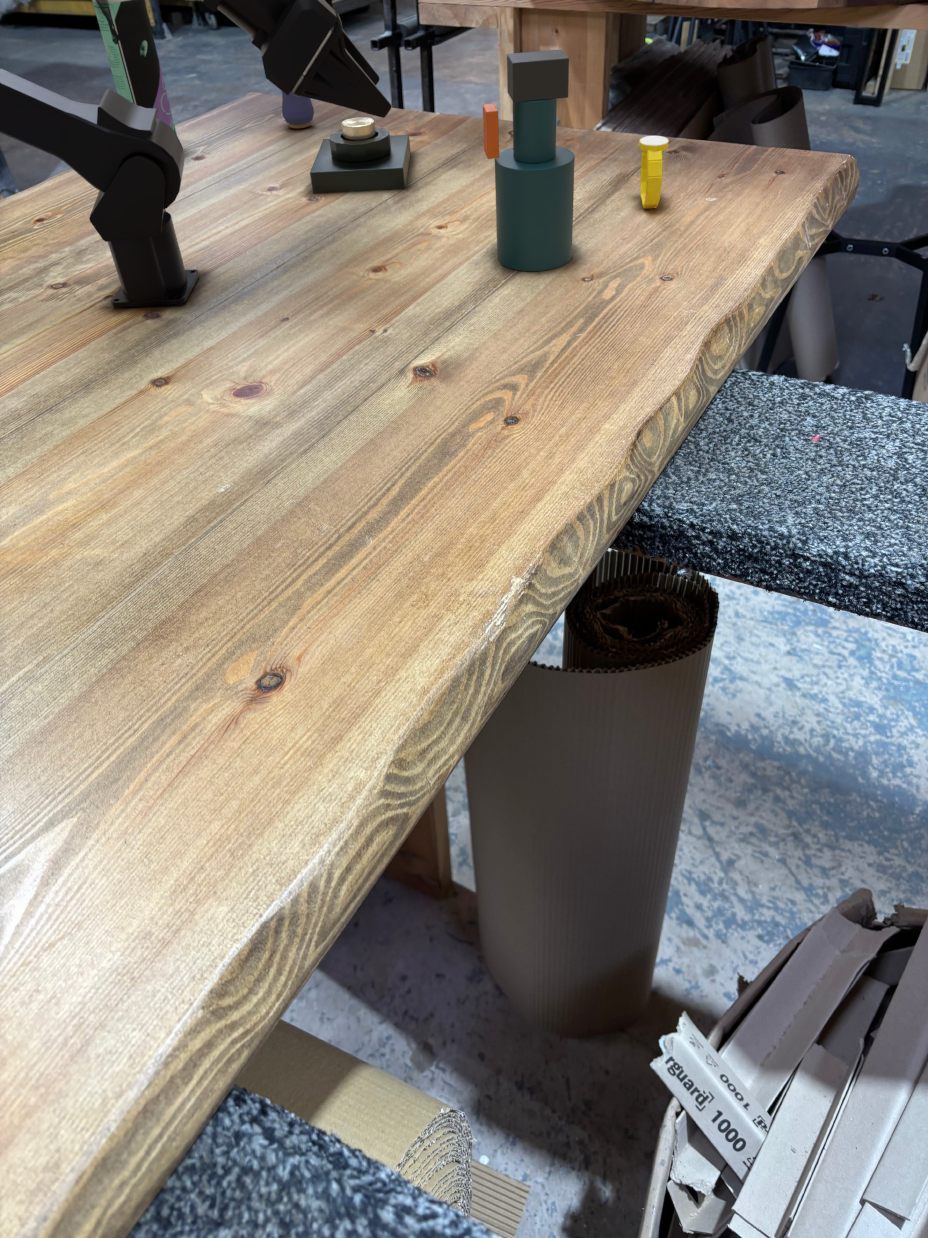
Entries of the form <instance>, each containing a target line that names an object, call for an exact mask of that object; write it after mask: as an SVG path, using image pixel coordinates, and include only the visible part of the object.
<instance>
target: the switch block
mask: <svg viewBox="0 0 928 1238" xmlns="http://www.w3.org/2000/svg"><path fill="white" fill-rule="evenodd" d="M375 132H376V137H375V138H373V139H368V140H364V141H347V140H343V133H342V129H340V130H338V131H336V132H333V133H331V134H330V136H329V138H323V139H322V141H321V145H320V147H319V149H318V152H317V154H316V157H315V160H314V161H313V165H312V167H311V170H310V172H309V175H310V181H311V189H312V194H313V195H316V194H334V193H337V194H338V193H353V192H372V191H373V192H374V191H375V192H376V191H392V190H395V191H396V190H406V185H407V178H408V173H409V167H410V160H411V143H410V135H409V134H390V131H389V130H387V129H386V128H384V127H381V126H380V127H378V126H375Z"/></svg>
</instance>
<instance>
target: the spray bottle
mask: <svg viewBox="0 0 928 1238" xmlns="http://www.w3.org/2000/svg"><path fill="white" fill-rule="evenodd" d="M569 73H570V58H569V56H568V55H567V54H566V52H564V51H563V49H561V48H559V49H547V50H538V51H537V50H535V51H525V52H514V53H507V54H506V77H507V78H506V81H507V83H506V84H507V86H506V87H507V94H508V95H509V97H510V99H511V101H512V145H513V146H512V147H510V148H507V149H504V150H502V151H499V158H494V185H495V222H496V223H495V224H496V254H497V255H496V256H497V258H496V259H497V261H498V263H499V264H500V265H502V266H504V267H506V268H508V269H511V270H515V271H521V272H541V271H542V272H543V271H549V270H554V269H557V268H560V267H562V266H564V265H566V264H567V263H569V262H570V261H571V260H572V257H573V235H574V234H573V232H574V231H573V229H574V227H573V226H574V195H575V194H574V193H575V192H574V191H575V159H576V158H575V156H576V155H575V153H574V152H573V151H572V150H570V149H568V148H566V147H562V146H558V145H557V99H567V98H569V85H570V84H569V80H570V75H569Z"/></svg>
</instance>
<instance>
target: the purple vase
mask: <svg viewBox="0 0 928 1238" xmlns="http://www.w3.org/2000/svg"><path fill="white" fill-rule="evenodd" d="M281 99H282V102H281V113H282V114H281V115H282V117H283V119H284V120H285V122H286V123H287V124H288V127H289V128H291V129H298V130H299V129H305V128H307V127H308V128H309V127H310V126H311V125H312V121H313V118H314V115H315V110H314V105H313V102H312V100H311V98H307V97H303V96H300V97H297V96H295V95H293V93H292V92H291V93H290V94H289V95H286V94H285V93H284V92H283V91H281Z"/></svg>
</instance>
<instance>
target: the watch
mask: <svg viewBox="0 0 928 1238" xmlns="http://www.w3.org/2000/svg"><path fill="white" fill-rule="evenodd" d="M669 142H670V141H669V138H668V137H666V136H662V135H647V136H643V137H641V138H639V141H638V149H639V150H640V151H642V153H641V160H640V161H641V162H640V178H639V191H640V192H639V193H640V194H639V196H640V199H641V205H642V208H643V209H656V208H658V206H659V204H660V200H661V192H662V186H663V185H662V183H663V163H664V162H663V152H664V151H667V150H668V148H669Z"/></svg>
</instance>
